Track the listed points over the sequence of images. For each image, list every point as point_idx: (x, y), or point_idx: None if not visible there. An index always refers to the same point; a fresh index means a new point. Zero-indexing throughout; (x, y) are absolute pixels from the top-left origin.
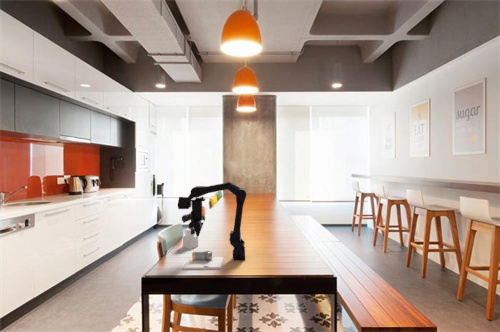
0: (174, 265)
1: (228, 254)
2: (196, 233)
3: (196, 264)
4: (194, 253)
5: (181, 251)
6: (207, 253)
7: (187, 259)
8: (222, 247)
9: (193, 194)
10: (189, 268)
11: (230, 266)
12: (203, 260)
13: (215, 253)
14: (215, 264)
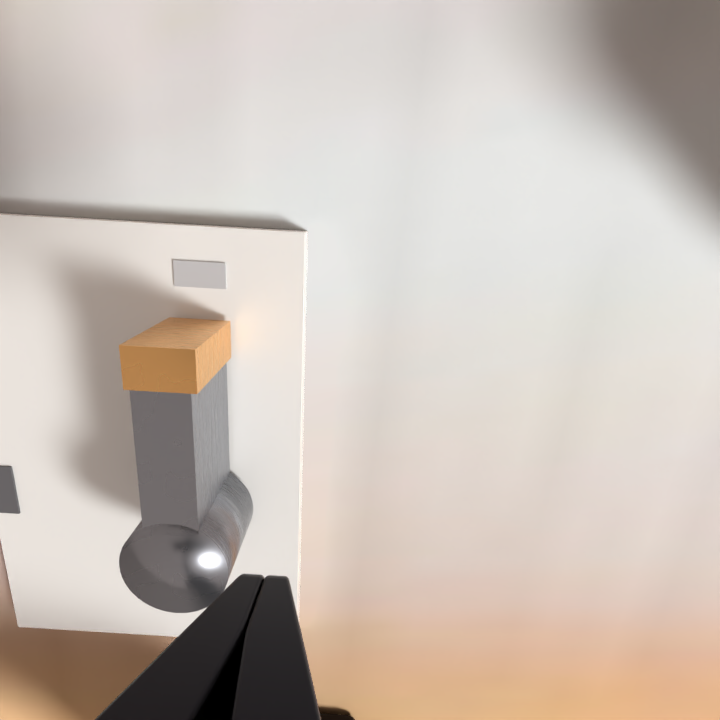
0: (85, 59)
1: (429, 668)
2: (171, 665)
3: (61, 380)
4: (122, 379)
5: (698, 52)
6: (124, 563)
7: (233, 235)
8: (690, 614)
9: None
10: None
11: (100, 679)
12: None
13: (487, 548)
14: (81, 576)
